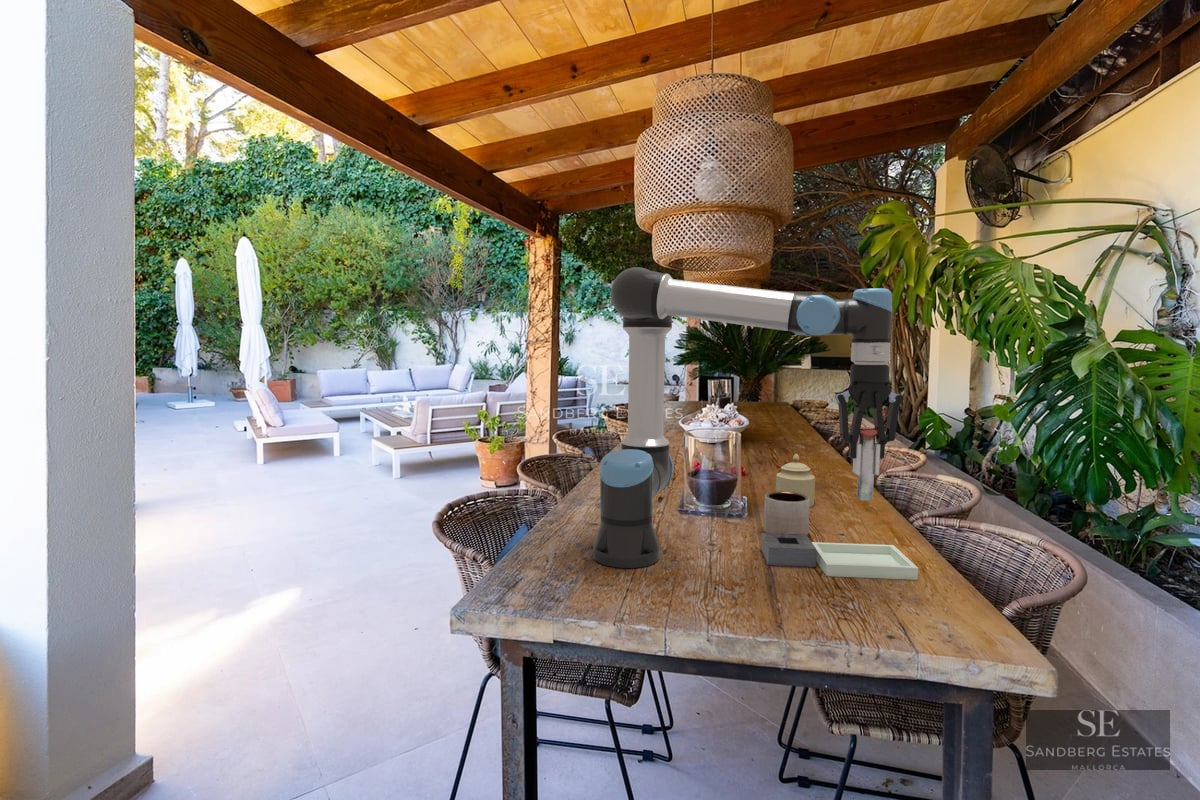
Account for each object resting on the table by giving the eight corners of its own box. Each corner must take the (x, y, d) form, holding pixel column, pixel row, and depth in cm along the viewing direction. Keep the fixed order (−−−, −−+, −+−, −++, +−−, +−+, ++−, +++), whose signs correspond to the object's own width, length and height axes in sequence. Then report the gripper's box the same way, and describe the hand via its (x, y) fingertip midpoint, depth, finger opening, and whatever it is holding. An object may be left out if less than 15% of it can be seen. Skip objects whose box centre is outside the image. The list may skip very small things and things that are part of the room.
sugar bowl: (763, 496, 192) (764, 448, 191) (795, 494, 194) (797, 447, 193) (786, 509, 178) (788, 457, 176) (821, 507, 180) (823, 456, 178)
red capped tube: (857, 501, 130) (859, 429, 129) (851, 495, 134) (853, 426, 133) (878, 501, 130) (881, 430, 128) (872, 496, 134) (874, 427, 132)
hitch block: (768, 565, 134) (768, 547, 133) (761, 549, 144) (761, 532, 143) (815, 567, 133) (816, 549, 132) (805, 551, 143) (805, 534, 142)
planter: (811, 541, 149) (812, 503, 148) (764, 538, 151) (765, 500, 150) (805, 528, 160) (806, 492, 159) (762, 525, 162) (763, 490, 161)
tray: (826, 576, 128) (826, 564, 127) (810, 552, 141) (811, 542, 141) (917, 579, 126) (918, 567, 125) (892, 555, 139) (893, 545, 139)
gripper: (834, 364, 126) (830, 476, 129) (917, 364, 125) (912, 478, 127) (825, 362, 134) (822, 469, 136) (903, 362, 132) (898, 470, 134)
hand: (865, 473), depth 131 cm, fingers closed on red capped tube, 3 cm apart
